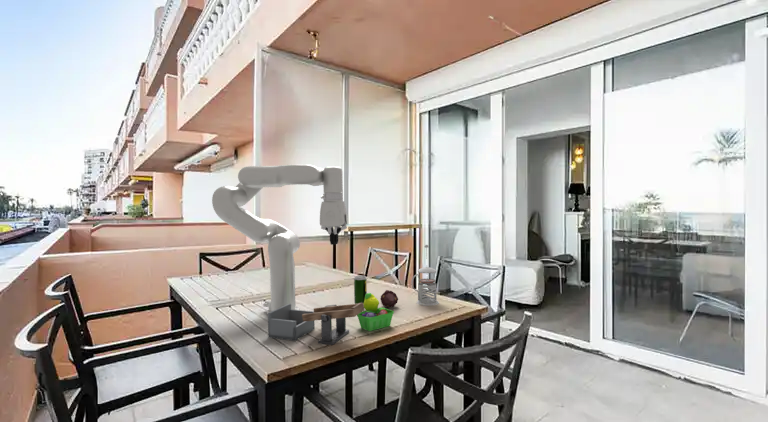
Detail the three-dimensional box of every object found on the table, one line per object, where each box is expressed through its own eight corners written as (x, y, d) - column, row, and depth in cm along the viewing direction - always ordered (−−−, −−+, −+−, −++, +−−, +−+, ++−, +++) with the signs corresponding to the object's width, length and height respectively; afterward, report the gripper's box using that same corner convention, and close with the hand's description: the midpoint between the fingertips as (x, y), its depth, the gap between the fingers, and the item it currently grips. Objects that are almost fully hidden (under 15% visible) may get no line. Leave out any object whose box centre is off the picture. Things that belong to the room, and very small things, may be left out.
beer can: (355, 306, 155) (354, 277, 155) (353, 303, 160) (353, 275, 160) (368, 305, 156) (367, 277, 156) (365, 302, 162) (365, 275, 162)
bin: (268, 337, 119) (267, 312, 119) (289, 326, 131) (289, 303, 130) (295, 340, 116) (294, 315, 116) (314, 328, 127) (314, 305, 127)
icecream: (403, 294, 147) (395, 290, 162) (385, 291, 146) (379, 286, 161) (399, 312, 147) (392, 306, 161) (381, 308, 146) (375, 302, 160)
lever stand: (317, 343, 113) (316, 315, 113) (336, 330, 125) (335, 305, 125) (332, 345, 111) (331, 317, 111) (349, 331, 123) (349, 306, 123)
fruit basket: (367, 333, 122) (367, 299, 122) (353, 326, 129) (353, 294, 129) (395, 326, 128) (394, 293, 128) (380, 320, 136) (379, 289, 136)
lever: (303, 321, 117) (301, 313, 117) (326, 308, 132) (325, 301, 132) (354, 316, 111) (353, 308, 112) (373, 303, 127) (372, 296, 127)
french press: (441, 305, 155) (440, 245, 155) (413, 306, 154) (412, 246, 154) (436, 299, 165) (435, 243, 164) (410, 300, 164) (409, 243, 164)
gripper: (311, 198, 145) (312, 244, 146) (346, 197, 141) (347, 245, 141) (321, 198, 152) (321, 243, 153) (354, 197, 148) (355, 243, 148)
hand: (334, 244), depth 147 cm, fingers closed
